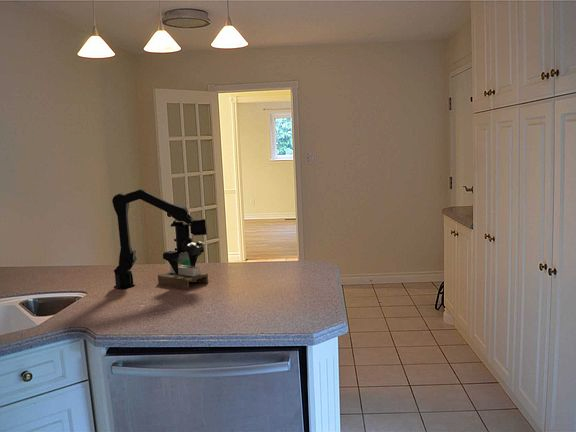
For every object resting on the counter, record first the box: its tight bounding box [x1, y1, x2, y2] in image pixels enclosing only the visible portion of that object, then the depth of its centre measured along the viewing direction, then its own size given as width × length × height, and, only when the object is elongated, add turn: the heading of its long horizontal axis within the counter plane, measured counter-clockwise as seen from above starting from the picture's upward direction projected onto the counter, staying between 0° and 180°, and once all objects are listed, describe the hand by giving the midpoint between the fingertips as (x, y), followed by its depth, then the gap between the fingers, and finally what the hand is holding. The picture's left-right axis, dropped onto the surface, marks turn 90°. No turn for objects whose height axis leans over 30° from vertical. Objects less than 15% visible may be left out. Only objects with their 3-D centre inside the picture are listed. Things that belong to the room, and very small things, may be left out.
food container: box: [178, 254, 191, 266], centre depth 240 cm, size 12×6×10 cm, turn 143°
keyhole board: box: [157, 270, 209, 290], centre depth 223 cm, size 12×18×4 cm, turn 54°
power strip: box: [170, 264, 201, 283], centre depth 224 cm, size 4×14×7 cm, turn 54°
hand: (185, 271), depth 224 cm, fingers open, 9 cm apart
